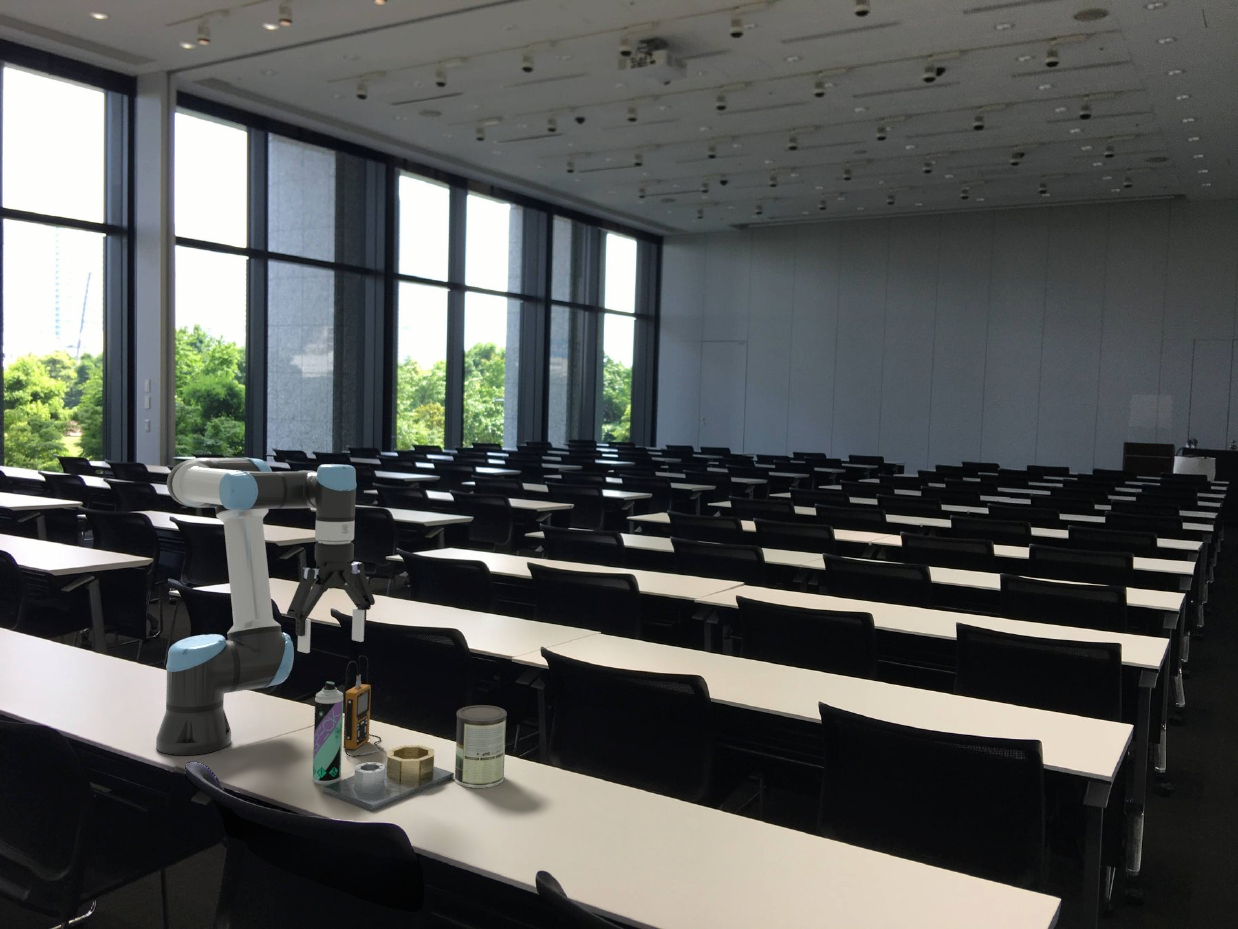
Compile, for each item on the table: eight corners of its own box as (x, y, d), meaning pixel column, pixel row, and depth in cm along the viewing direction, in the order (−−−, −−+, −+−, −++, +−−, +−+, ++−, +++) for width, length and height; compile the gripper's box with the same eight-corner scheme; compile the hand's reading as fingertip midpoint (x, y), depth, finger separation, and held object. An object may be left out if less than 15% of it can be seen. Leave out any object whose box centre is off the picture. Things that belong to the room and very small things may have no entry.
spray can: (311, 776, 198) (314, 679, 198) (338, 773, 201) (341, 678, 200) (314, 785, 193) (317, 686, 193) (342, 783, 196) (345, 685, 195)
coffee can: (443, 780, 200) (446, 712, 199) (478, 766, 208) (480, 702, 207) (480, 792, 194) (482, 723, 193) (514, 778, 202) (517, 712, 202)
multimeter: (377, 760, 209) (380, 669, 208) (334, 755, 211) (337, 664, 210) (405, 739, 223) (408, 653, 223) (365, 734, 225) (368, 649, 225)
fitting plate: (323, 792, 190) (323, 766, 190) (405, 763, 208) (406, 739, 208) (372, 811, 182) (373, 784, 182) (453, 778, 201) (454, 753, 200)
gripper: (295, 548, 182) (291, 660, 183) (394, 538, 203) (390, 639, 204) (269, 544, 187) (266, 653, 187) (369, 535, 207) (366, 633, 208)
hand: (331, 646), depth 196 cm, fingers open, 13 cm apart
